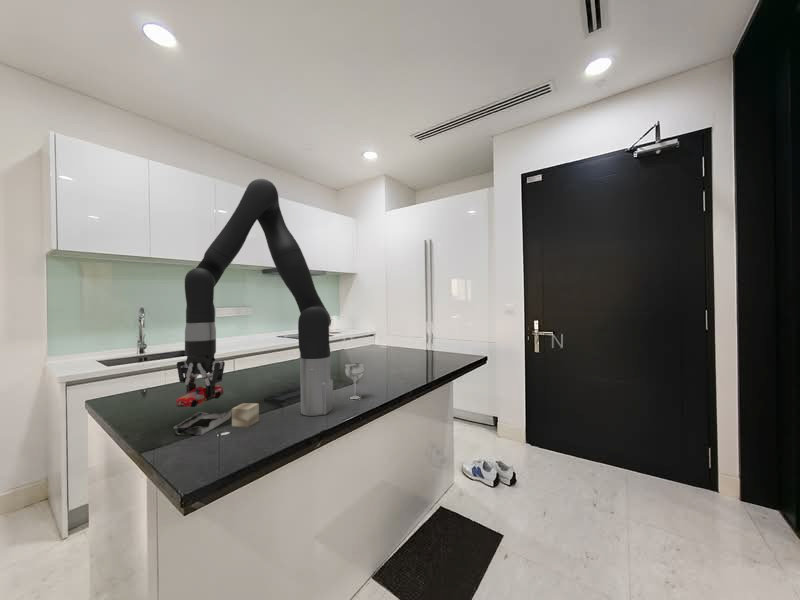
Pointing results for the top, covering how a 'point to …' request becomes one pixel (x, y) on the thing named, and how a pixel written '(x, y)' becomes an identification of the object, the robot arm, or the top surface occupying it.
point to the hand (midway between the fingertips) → (200, 397)
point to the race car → (197, 396)
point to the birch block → (245, 414)
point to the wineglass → (354, 374)
